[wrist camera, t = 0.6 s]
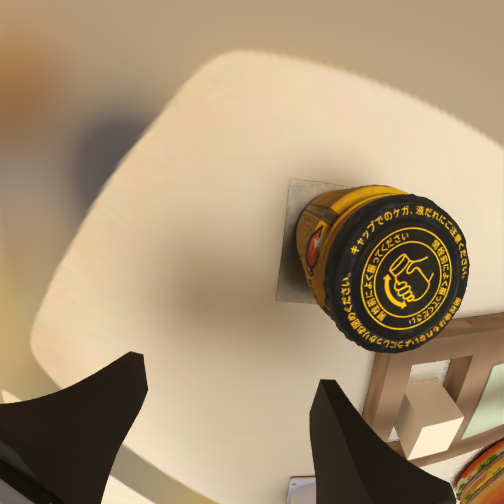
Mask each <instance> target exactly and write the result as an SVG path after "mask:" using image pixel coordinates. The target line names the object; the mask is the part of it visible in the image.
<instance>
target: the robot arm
mask: <svg viewBox="0 0 504 504" xmlns="http://www.w3.org/2000/svg"><path fill="white" fill-rule="evenodd" d="M147 391H148V385H147V379H146V372H145V365H144V357H143V354H139V353H135V352H131V351H130V352H128V353H127V354H125V355H123V356H122V357H120V358H119V359H117V360H115V361H114V362H112V363H111V364H109V365H108V366H106V367H104V368H103V369H101V370H99V371H98V372H96V373H94V374H93V375H91V376H89V377H87V378H85V379H83V380H82V381H80V382H78V383H76V384H74V385H72V386H70V387H67V388H65V389H63V390H60V391H58V392H55V393H52V394H49V395H46V396H42V397H39V398H36V399H32V400H27V401H22V402H15V403H7V404H0V504H101V501H102V497H103V493H104V490H105V486H106V483H107V480H108V477H109V474H110V471H111V468H112V465H113V463H114V460H115V457H116V455H117V452H118V450H119V448H120V446H121V444H122V442H123V440H124V439H125V437H126V435H127V433H128V431H129V430H130V428H131V426H132V424H133V422H134V421H135V419H136V417H137V415H138V413H139V411H140V409H141V407H142V405H143V402H144V400H145V397H146V394H147ZM310 440H311V447H312V455H313V462H314V469H315V477H303V478H291V479H290V482H289V489H288V496H287V502H286V504H456V498H455V495H454V492H453V490H452V487H451V485H450V483H449V482H446V481H444V480H442V479H440V478H437V477H435V476H433V475H431V474H429V473H427V472H425V471H424V470H422V469H420V468H418V467H417V466H415V465H414V464H412V463H411V462H409V461H408V460H406V459H405V458H404V457H402V456H401V455H400V454H398V453H397V452H396V451H394V450H393V449H392V448H391V447H390V446H389V445H388V444H386V443H385V442H384V441H383V440H382V439H381V438H380V437H379V436H378V435H377V434H376V433H375V432H374V431H373V430H372V428H371V427H370V426H369V425H368V424H367V423H366V422H365V420H364V419H363V418H362V417H361V415H360V414H359V413H358V411H357V410H356V409H355V408H354V406H353V405H352V403H351V402H350V401H349V399H348V398H347V396H346V395H345V393H344V392H343V390H342V389H341V388H340V386H339V385H338V383H337V382H336V380H326V379H320V382H319V385H318V388H317V392H316V395H315V398H314V401H313V404H312V407H311V410H310Z"/></svg>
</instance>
